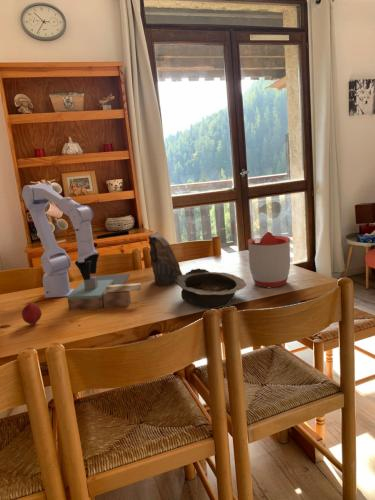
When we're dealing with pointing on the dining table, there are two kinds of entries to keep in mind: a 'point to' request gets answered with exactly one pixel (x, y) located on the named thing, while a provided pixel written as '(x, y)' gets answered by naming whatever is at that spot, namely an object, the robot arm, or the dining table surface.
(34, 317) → the onion
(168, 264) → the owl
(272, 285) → the citrus juicer
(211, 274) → the stone bowl
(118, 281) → the mat
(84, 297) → the lid
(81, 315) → the dining table surface
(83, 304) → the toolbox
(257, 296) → the dining table surface
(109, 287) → the beige rectangular bar
